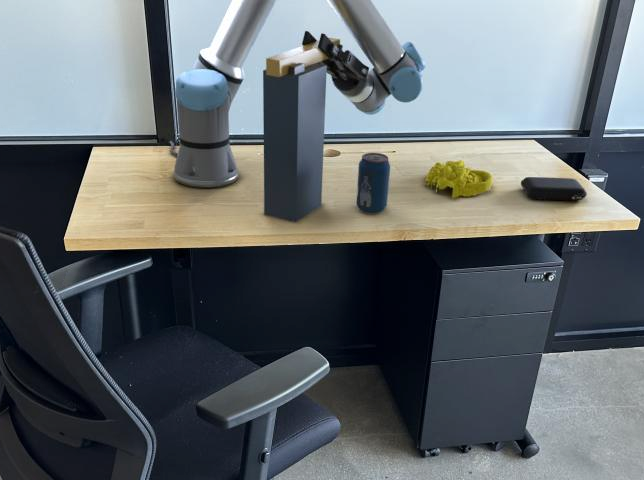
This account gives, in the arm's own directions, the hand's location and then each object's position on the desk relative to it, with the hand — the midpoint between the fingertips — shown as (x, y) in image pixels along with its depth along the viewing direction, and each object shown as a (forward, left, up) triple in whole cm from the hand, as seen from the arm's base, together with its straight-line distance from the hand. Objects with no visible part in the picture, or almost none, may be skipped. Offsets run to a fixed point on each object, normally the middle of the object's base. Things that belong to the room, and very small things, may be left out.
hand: (313, 39), depth 152 cm
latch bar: (+2, -2, -4) cm, 5 cm away
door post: (+5, -6, -34) cm, 35 cm away
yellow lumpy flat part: (+2, +39, -34) cm, 52 cm away
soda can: (+10, +11, -34) cm, 38 cm away
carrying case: (+15, +58, -34) cm, 69 cm away
